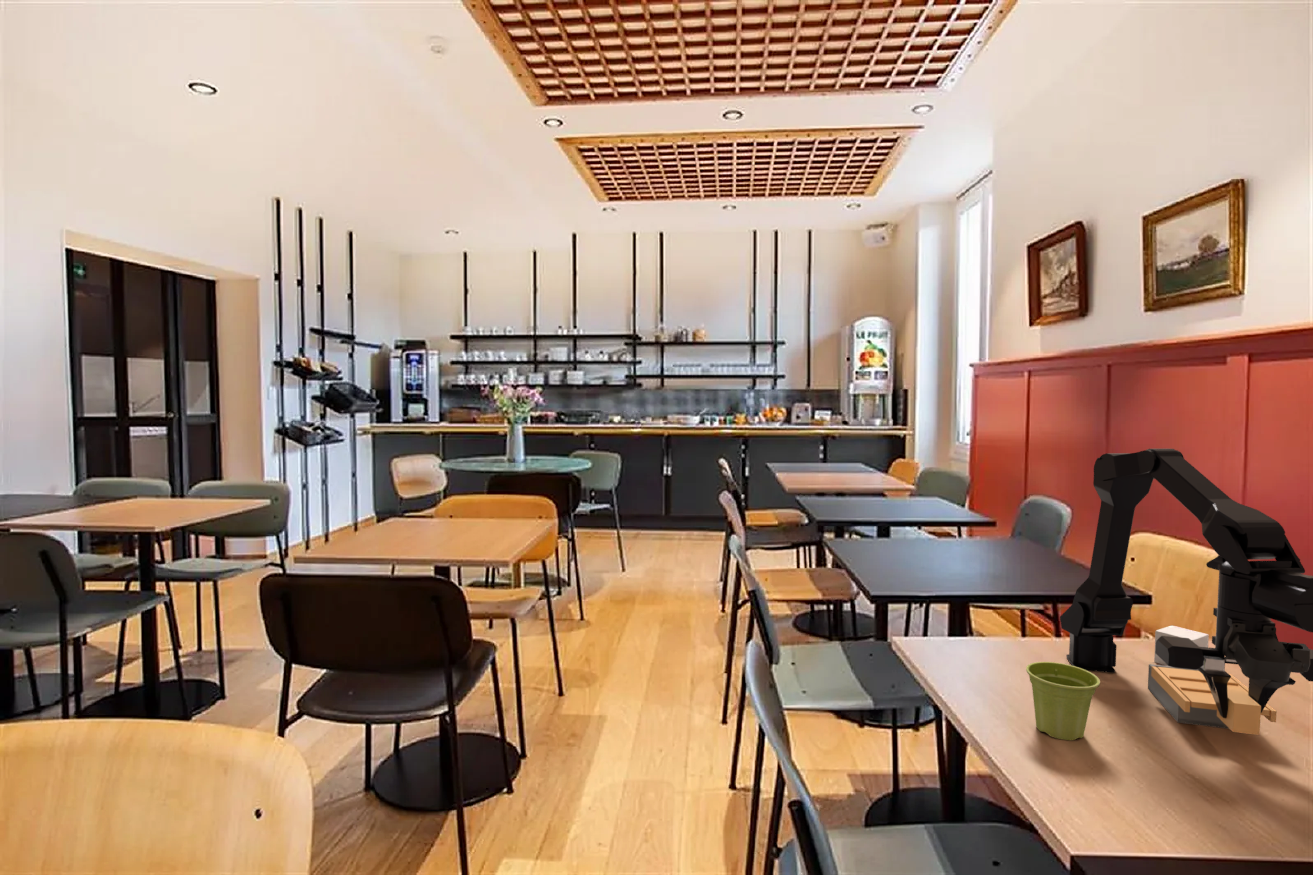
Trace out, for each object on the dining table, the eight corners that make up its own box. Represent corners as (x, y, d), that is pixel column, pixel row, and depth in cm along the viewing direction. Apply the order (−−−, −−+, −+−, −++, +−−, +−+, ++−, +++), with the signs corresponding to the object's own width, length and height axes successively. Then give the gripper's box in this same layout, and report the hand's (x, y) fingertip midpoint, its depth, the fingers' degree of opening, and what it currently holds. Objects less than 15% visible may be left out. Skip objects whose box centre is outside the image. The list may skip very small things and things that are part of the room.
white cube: (1154, 662, 132) (1155, 630, 131) (1170, 656, 135) (1171, 625, 134) (1191, 673, 127) (1193, 640, 126) (1207, 666, 130) (1208, 634, 129)
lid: (1198, 727, 98) (1200, 699, 98) (1151, 676, 116) (1152, 652, 116) (1295, 739, 95) (1296, 710, 95) (1230, 684, 113) (1232, 659, 112)
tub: (1177, 722, 108) (1178, 695, 107) (1147, 688, 120) (1148, 664, 120) (1249, 731, 105) (1251, 703, 105) (1211, 695, 117) (1212, 670, 117)
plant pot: (1088, 722, 108) (1090, 666, 107) (1105, 751, 99) (1107, 690, 98) (1019, 713, 111) (1021, 658, 110) (1029, 741, 102) (1032, 681, 101)
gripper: (1187, 619, 93) (1181, 735, 94) (1366, 634, 87) (1358, 757, 88) (1156, 596, 104) (1151, 700, 105) (1314, 608, 98) (1308, 718, 99)
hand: (1237, 718), depth 99 cm, fingers closed on lid, 3 cm apart
